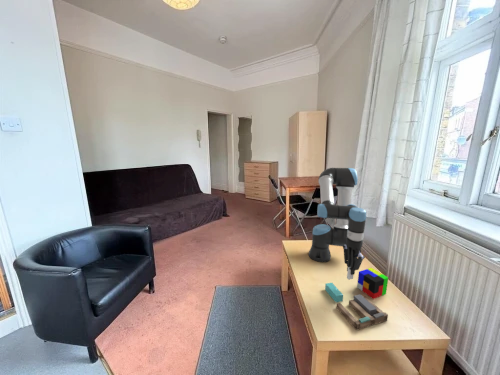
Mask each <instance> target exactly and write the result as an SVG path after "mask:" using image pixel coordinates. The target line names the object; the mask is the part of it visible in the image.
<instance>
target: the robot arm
mask: <svg viewBox="0 0 500 375" xmlns="http://www.w3.org/2000/svg"><path fill="white" fill-rule="evenodd" d="M358 180H359V179H358V173H357V170H356V169H355V168H350V167H329V168H326V169H325V170H323V171H322V172H321V173H320V174H319V177H318V185H319V189H320V191H319V192H320V203H318V204H317V209H316V210H317V211H316V212H317V214H316V215H317V217H318V218H324V219H335V220H336V221H335V222H336V223H335V224H334V225H333V227H331V226H330V225H328V224H325V223H324V224H321V223H320V224H317V225H314V226H313V228H312V239H311V246H310V249H309V250H308V257H309V259H311V260H313V261H315V262H318V263H327V262H330V261H331V258H332V255H331V252H330V246H335V247H342V249H343V261H344V264H346V271H347V274H346V279H347V280H353V279H354V275H355V272H356V271H358V270H359V269H360V268H361V266H362V262H363V260H364V259H365V258H366V256H365V255H363V254H362V247H363V244H364V235H365V228H366V227H365V226H366V222H367V221H366V220H367V211H366V209H364V208H362V207H358V206H357V205H356V204H354V203H353V204H352V192H353V191H352V190H354V189H355V186H357V185H358ZM333 185H335V188H336V189H337V204H336V203H335V196H334V190H333V189H334V188H333Z"/></svg>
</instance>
